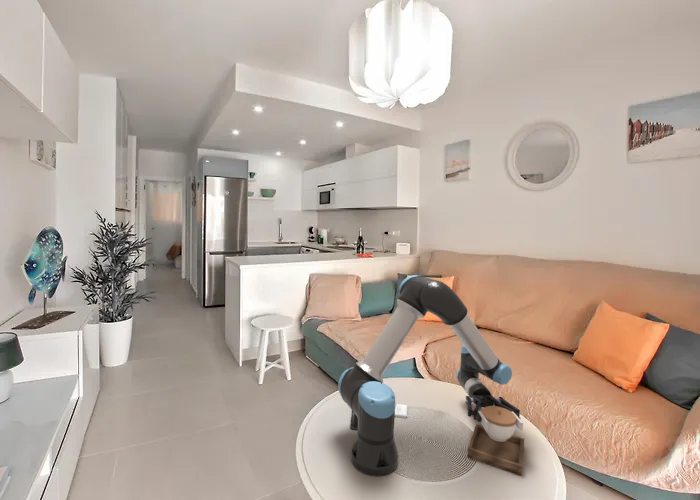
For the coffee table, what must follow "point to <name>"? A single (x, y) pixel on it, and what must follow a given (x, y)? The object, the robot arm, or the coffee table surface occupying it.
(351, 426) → the phone
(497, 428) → the lidded jar
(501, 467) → the walnut tray
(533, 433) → the coffee table surface
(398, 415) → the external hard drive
